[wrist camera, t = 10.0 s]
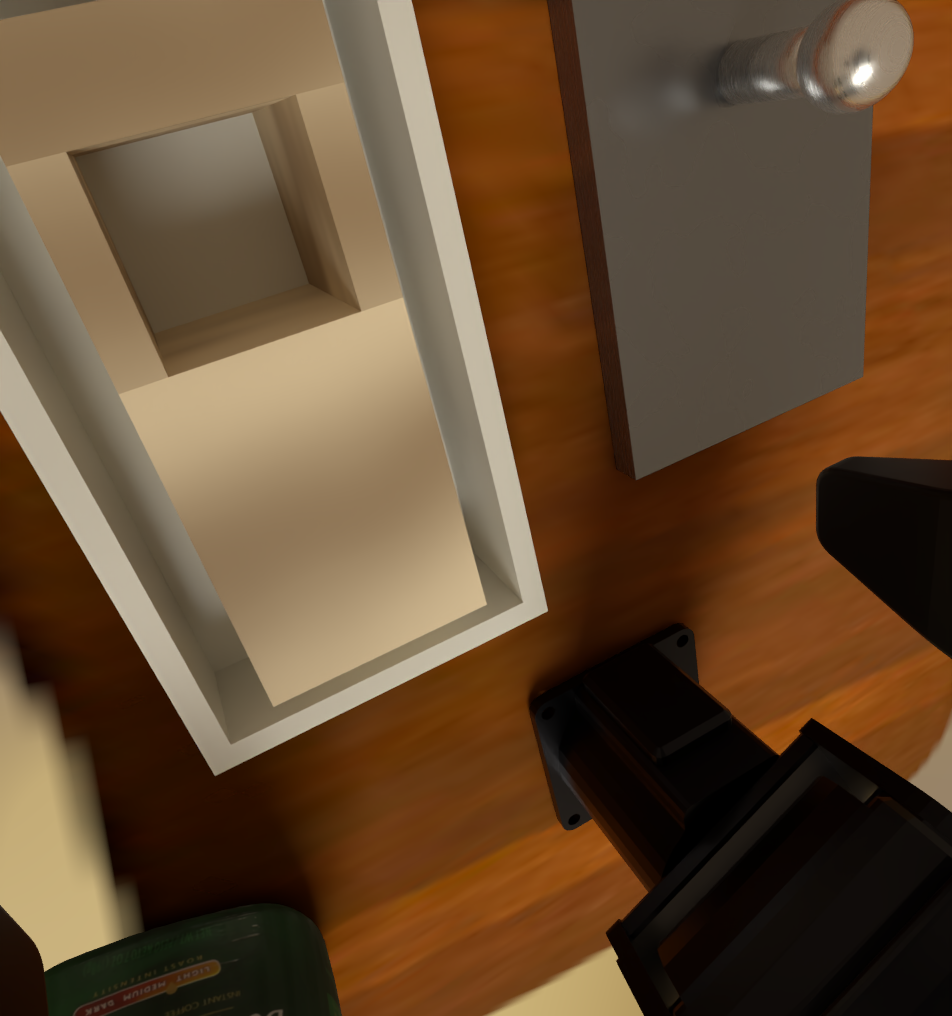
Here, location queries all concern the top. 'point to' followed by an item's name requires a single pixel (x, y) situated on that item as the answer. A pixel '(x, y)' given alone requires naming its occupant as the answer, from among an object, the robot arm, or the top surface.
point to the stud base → (723, 203)
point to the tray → (225, 285)
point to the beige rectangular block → (254, 330)
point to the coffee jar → (204, 969)
